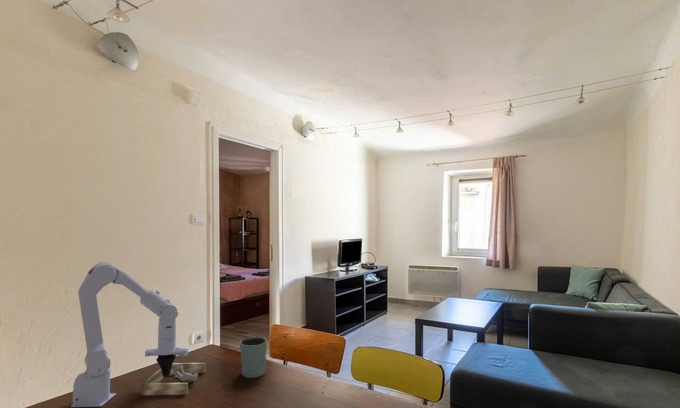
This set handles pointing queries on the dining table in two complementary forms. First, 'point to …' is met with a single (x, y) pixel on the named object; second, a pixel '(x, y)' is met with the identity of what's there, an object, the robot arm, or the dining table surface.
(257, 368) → the green cup
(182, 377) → the soldier figure
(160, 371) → the beech frame
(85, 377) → the robot arm
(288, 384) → the dining table surface
